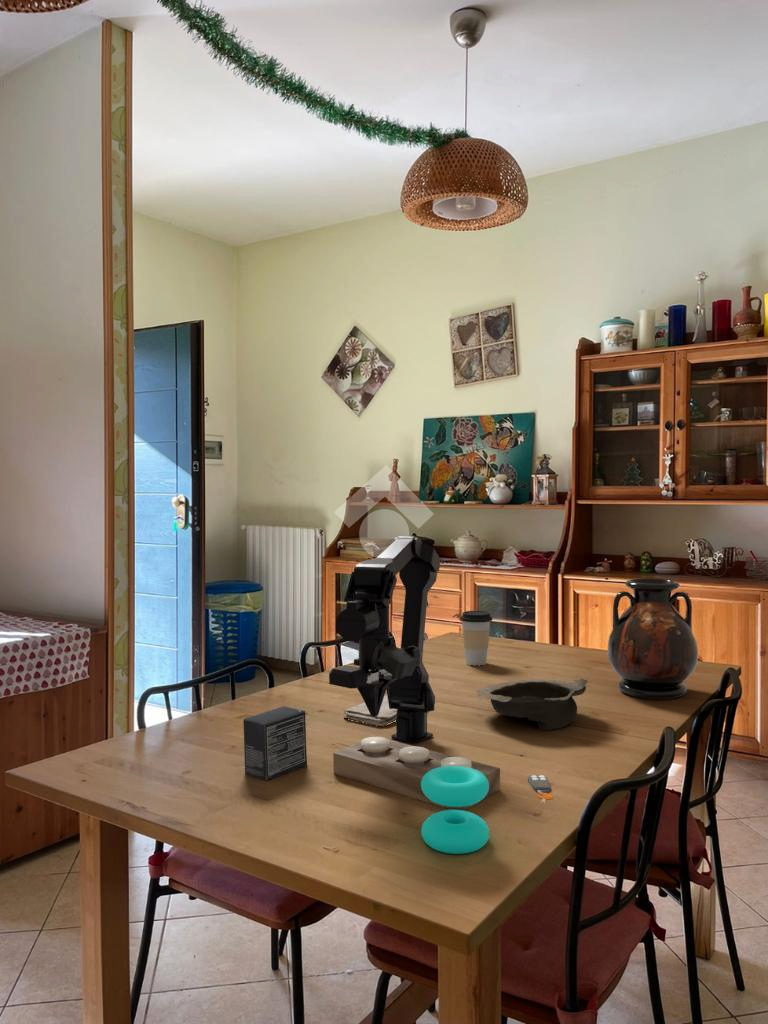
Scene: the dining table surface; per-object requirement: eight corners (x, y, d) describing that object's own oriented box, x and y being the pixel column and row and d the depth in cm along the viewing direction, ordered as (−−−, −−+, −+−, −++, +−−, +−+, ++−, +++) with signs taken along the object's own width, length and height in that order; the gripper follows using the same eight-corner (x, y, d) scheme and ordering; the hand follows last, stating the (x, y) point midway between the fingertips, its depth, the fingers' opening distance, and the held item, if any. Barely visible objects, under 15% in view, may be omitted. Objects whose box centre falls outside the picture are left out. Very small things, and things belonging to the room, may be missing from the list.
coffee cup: (455, 661, 235) (455, 611, 234) (484, 659, 237) (484, 609, 237) (468, 668, 226) (467, 616, 225) (498, 665, 228) (497, 614, 228)
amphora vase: (684, 682, 208) (684, 576, 207) (709, 704, 187) (710, 586, 186) (600, 680, 210) (600, 576, 209) (616, 703, 189) (616, 586, 188)
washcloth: (340, 721, 178) (340, 708, 178) (386, 703, 193) (386, 690, 193) (383, 730, 171) (383, 716, 171) (428, 710, 186) (427, 697, 186)
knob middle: (411, 772, 144) (411, 744, 144) (434, 779, 141) (434, 750, 141) (393, 781, 140) (393, 752, 140) (417, 788, 137) (416, 758, 137)
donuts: (502, 774, 117) (458, 793, 110) (503, 841, 117) (459, 864, 110) (451, 758, 124) (406, 775, 117) (451, 821, 124) (407, 841, 117)
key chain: (525, 781, 141) (525, 773, 141) (546, 781, 141) (546, 773, 141) (539, 811, 128) (539, 802, 128) (562, 811, 128) (562, 802, 128)
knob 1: (373, 762, 150) (373, 735, 150) (395, 768, 147) (395, 740, 146) (355, 769, 146) (355, 742, 146) (377, 776, 143) (377, 747, 142)
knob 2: (452, 784, 139) (452, 754, 138) (477, 791, 135) (477, 761, 135) (435, 793, 134) (434, 763, 134) (460, 800, 131) (460, 769, 131)
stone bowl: (594, 738, 163) (591, 693, 162) (473, 740, 168) (469, 697, 167) (588, 703, 187) (585, 664, 187) (482, 706, 192) (479, 668, 192)
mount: (375, 755, 154) (375, 736, 154) (500, 789, 136) (499, 768, 136) (333, 773, 145) (333, 752, 145) (461, 812, 127) (460, 789, 127)
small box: (284, 758, 153) (283, 704, 153) (308, 765, 149) (307, 710, 149) (242, 773, 145) (241, 717, 145) (266, 782, 141) (265, 723, 141)
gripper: (374, 644, 133) (375, 736, 133) (439, 629, 147) (439, 712, 148) (326, 637, 140) (327, 724, 140) (392, 622, 154) (393, 702, 155)
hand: (374, 715), depth 146 cm, fingers closed
